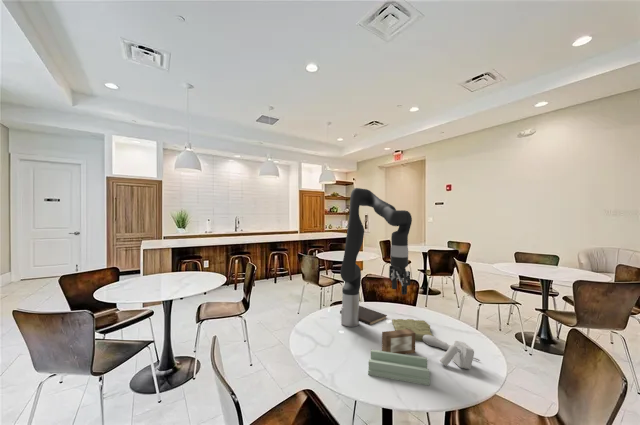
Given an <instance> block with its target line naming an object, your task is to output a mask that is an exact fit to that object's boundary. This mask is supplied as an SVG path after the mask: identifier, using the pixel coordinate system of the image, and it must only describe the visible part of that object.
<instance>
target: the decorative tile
mask: <svg viewBox="0 0 640 425" xmlns="http://www.w3.org/2000/svg"><path fill="white" fill-rule="evenodd" d="M391 320H392V322H391V323H392V327H393V329H394V331H395V330H405V329H411V330H412V331H414V332H415V342H417V341H418V342H419V341H420V342H424V341H423V336H424V335H431V336H433V333H432V332H431V325H430V324H429V323H427V321H426V320H419V319H415V320H414V319H410V318H407V319H404V318H396V319H394V318H392V319H391Z"/></svg>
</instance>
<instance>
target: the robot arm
mask: <svg viewBox="0 0 640 425" xmlns="http://www.w3.org/2000/svg"><path fill="white" fill-rule="evenodd" d="M349 198H350V199H349V214H348V215H349V216H348V223H347V228H346V229H347V230H346V231H347V232H346V237H345V246H344V254H343V259H342V262H341V267H340V273H339V274H340V278H341V280H342V281H343V282H344V284H343V287H342V290H341V291H342V292H341V294H342V296H341V297H342V302H341V303H342V304H341V305H342V306H341V309H340V311H341V316H340V317H341V318H340V319H341V320H340V321H341V322H340V324H341V326H345V327H347V328H349V327H350V328H355V327H358V326H359V325H360V324H359V323H360V321H359V306H360V289H361V286H362V285H361V284H362V272H361V268H360V266H359V265H358V264H357V258H358V254H359V252H360V250H361V248H362V246H363V243H364V238H365V237H364V236H365V227H364V225H363V223H362V220H361V217H360V206H361V207H371V208H373V210H374V212H375V213H376V214H377V215H379V216H380V217H382V218H384V220H385V221H386V222H387V224H388V225H389V226H392V227H398V228H397V230H395V231H393V232H392V233H391V239H390V240H391V241H390V242H391V245H390V246H391V247H390V265H389V267H388V270H389V272H388V278H389V279H390V280H391V289H392V290H397V289H398V281H399V282H400V284H401V295H407V294H408V286H411V271H410V270H406V268H407V267H408V266H409V244H408V242H409V241H408V240H409V239H408V238H409V234H410V229H411V227H412V221H413V218H412V215H411V214H412V213H410V211H409V210H397V209H396V207H395V206H394V205H392V204H390V203H389V202H386V201H384V200H382V199H381V198H379V197H378V196H377V195H376V194H374V192H372V191H371V190H369V189H367V188H361V187H355V188H353V189H352V190H351V192H350V197H349Z"/></svg>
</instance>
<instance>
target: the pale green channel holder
mask: <svg viewBox="0 0 640 425" xmlns="http://www.w3.org/2000/svg"><path fill="white" fill-rule="evenodd" d="M367 371H368V372H367V375H369V376H373V377H378V378H379V377H380V378H383V379H384V378H385V379H391V380H395V381H402V382H406V383H407V382H409V383H412V384H413V383H414V384H419V385H425V386H430V382H431V381H430V368H428V358H427V357H424V356H418V355H417V356H416V355H412V354H398V353H392V352H385V351H382V350H378V349H377V350H376V349H371V350H370V359H368V370H367Z"/></svg>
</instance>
